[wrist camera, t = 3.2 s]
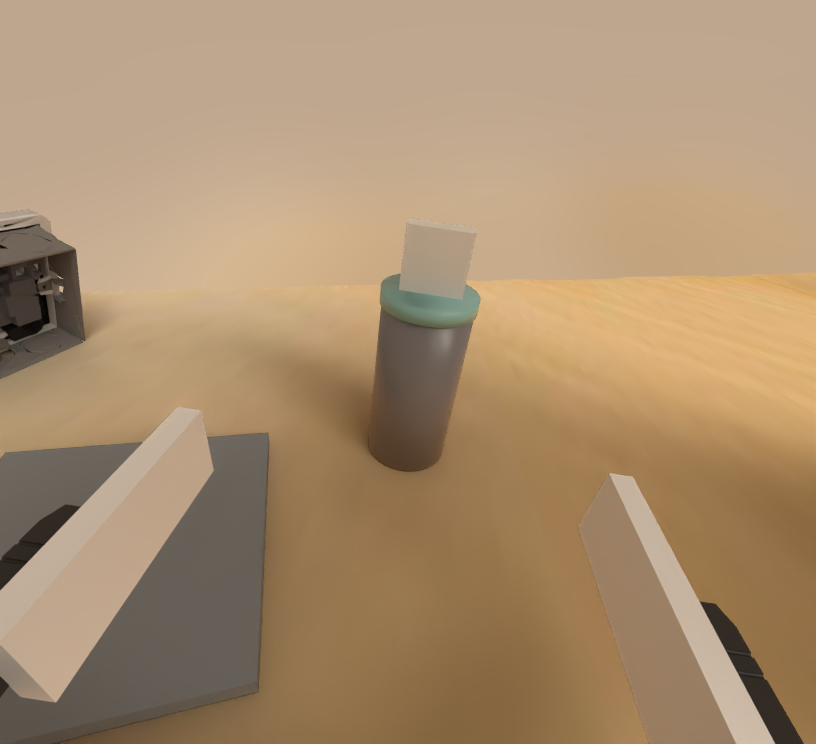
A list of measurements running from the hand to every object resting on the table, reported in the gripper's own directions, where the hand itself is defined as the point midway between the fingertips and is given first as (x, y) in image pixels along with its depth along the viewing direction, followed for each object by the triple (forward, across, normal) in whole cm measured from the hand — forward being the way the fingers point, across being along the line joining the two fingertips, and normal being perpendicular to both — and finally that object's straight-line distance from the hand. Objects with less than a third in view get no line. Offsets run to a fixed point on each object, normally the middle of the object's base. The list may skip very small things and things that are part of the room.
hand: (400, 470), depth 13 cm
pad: (-1, -11, -7) cm, 13 cm away
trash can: (+9, 0, -7) cm, 11 cm away
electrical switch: (+11, -26, -7) cm, 29 cm away
